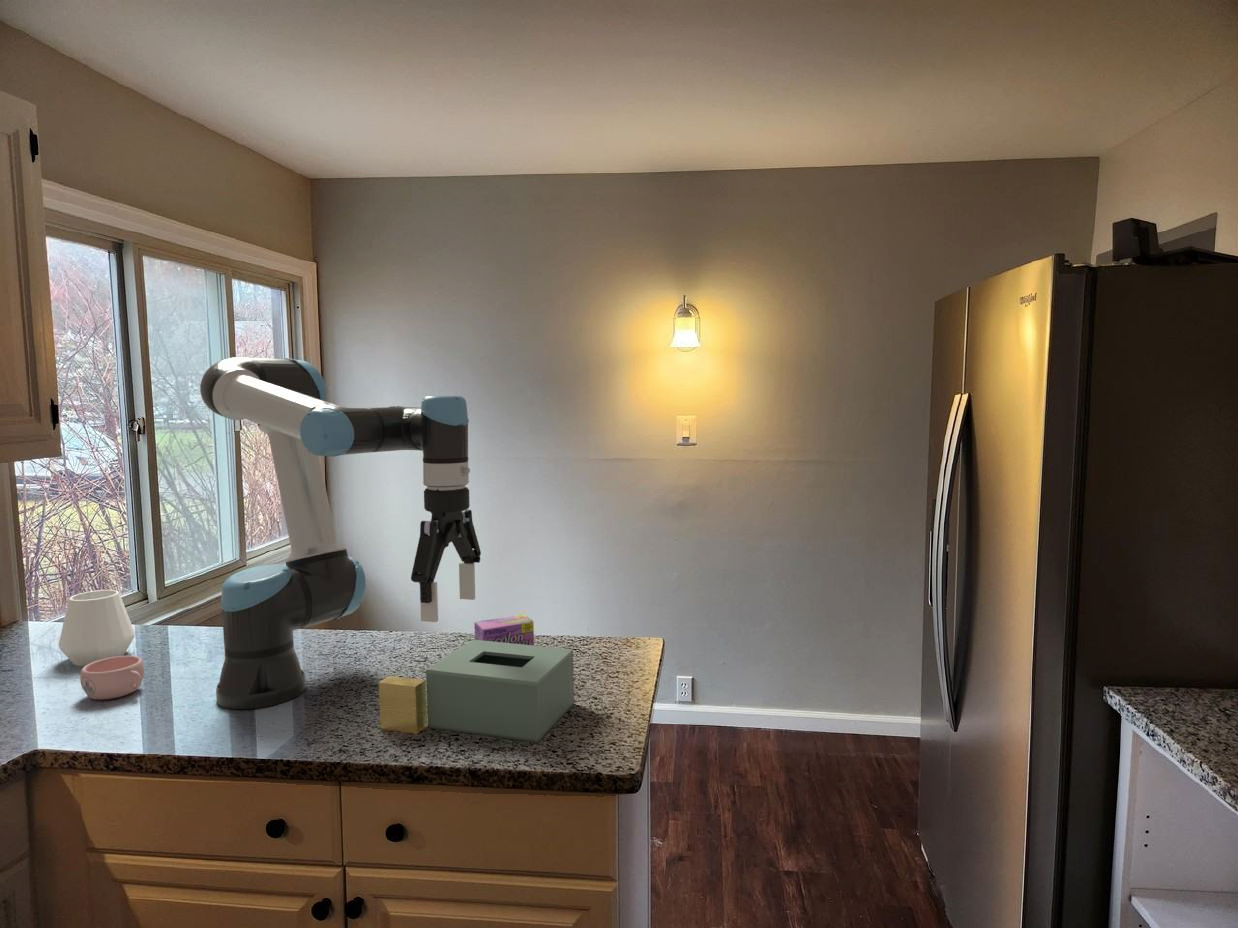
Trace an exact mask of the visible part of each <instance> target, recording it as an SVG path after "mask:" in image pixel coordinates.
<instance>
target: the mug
mask: <svg viewBox="0 0 1238 928" xmlns="http://www.w3.org/2000/svg"><path fill="white" fill-rule="evenodd" d="M79 675H80V685H81V688H82V690H83V692H84V693H85V694H86V695H87V697H89V698H90V699H93V700H111V699H117V698H121V697H125V696H127V695H129V694H132V693H133V692H135V691H137V690H138V689H139V688H140V687H141V686H142V682H143V679H144V678H145V665H144V661H143V659H142V658H141V657H140V656H136V655H124V656H117V657H110V658H105V659H101V660H98V661H95V662H92V663H90V664H88V665H86V666H83V667H82V669H81V670H80V674H79Z"/></svg>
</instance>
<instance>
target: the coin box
mask: <svg viewBox="0 0 1238 928" xmlns="http://www.w3.org/2000/svg"><path fill="white" fill-rule="evenodd" d="M574 675H575V674H574V649H571V648H561V647H551V646H542V645H541V646H540V645H534V646H533V645H523V644H513V643H503V642H492V641H482V640H475V639H472V640H470V641H469V642H467V643H465V644H464V645H462V646H460V647H459V648H457V649H455V650H454V651H453V652H451V653H450V654H448V655H447V656H445V657H443V658H442V659H440V660H439V661H437V662H436V663H434V664H432V665H431V666H429V667H427V668H426V669H425V676H426V677H425V684H426V713H427V728H429V729H435V730H442V731H449V732H456V733H457V732H458V733H464V734H471V735H479V736H485V737H486V736H487V737H493V738H499V739H501V738H502V739H505V740H507V739H508V740H514V741H521V742H528V743H529V742H530V743H536V744H539V743H540V742H541V741H542V739H543V738H544V737H545V736H546V735H547V734H548V732H550V731H551V729H552V728H553V727H554V726H555V725H556V724H558V722H559V721H560V719H562V717H563V716H564V715H565V714H566V713H567V712H568V711H569V710H570V709H571V708H572V707H573V706H574V704H575V693H574V692H575V689H574V688H575V686H574V685H575V684H574V683H575V682H574V681H575V680H574V678H575V677H574Z"/></svg>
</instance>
